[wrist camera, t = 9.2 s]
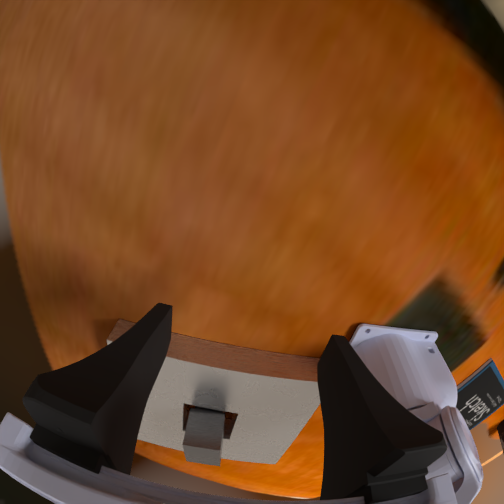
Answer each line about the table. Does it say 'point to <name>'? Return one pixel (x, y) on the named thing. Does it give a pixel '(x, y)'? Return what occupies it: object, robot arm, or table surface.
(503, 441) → the coffee mug
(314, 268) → the table surface
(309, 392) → the grey square slab
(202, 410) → the grey block
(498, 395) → the sketchbook
